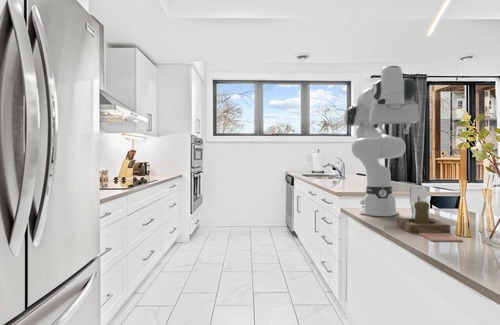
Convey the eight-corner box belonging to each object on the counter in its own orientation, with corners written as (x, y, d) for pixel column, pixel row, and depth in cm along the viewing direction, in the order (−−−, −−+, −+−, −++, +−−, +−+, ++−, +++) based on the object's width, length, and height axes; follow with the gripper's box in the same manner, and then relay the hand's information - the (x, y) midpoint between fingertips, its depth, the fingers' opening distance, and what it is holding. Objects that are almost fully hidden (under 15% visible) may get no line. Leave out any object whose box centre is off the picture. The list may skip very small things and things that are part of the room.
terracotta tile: (418, 234, 117) (418, 232, 117) (447, 234, 116) (447, 232, 116) (431, 241, 107) (431, 239, 107) (462, 241, 106) (462, 239, 106)
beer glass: (430, 221, 139) (430, 187, 139) (423, 223, 135) (422, 188, 135) (414, 219, 145) (413, 186, 145) (406, 221, 141) (406, 187, 140)
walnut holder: (397, 225, 133) (397, 218, 133) (432, 225, 132) (431, 218, 132) (410, 233, 119) (410, 225, 119) (450, 233, 118) (450, 225, 118)
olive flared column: (433, 231, 122) (432, 202, 122) (416, 230, 123) (415, 202, 123) (427, 227, 128) (427, 200, 128) (411, 227, 129) (411, 200, 129)
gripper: (415, 103, 140) (417, 134, 138) (367, 105, 142) (368, 135, 140) (421, 99, 133) (423, 131, 132) (371, 101, 135) (372, 133, 134)
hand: (394, 133), depth 136 cm, fingers open, 8 cm apart
